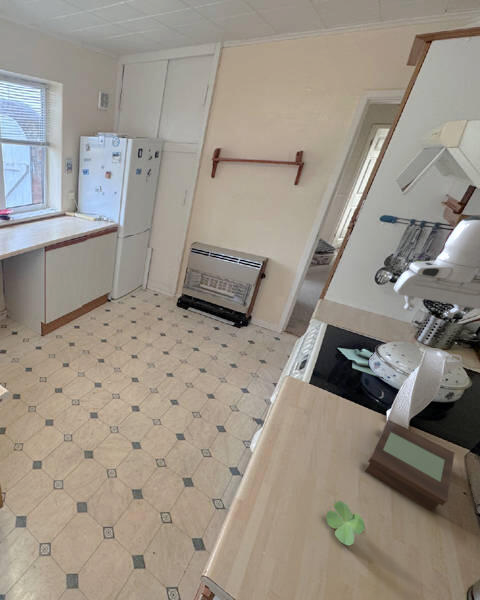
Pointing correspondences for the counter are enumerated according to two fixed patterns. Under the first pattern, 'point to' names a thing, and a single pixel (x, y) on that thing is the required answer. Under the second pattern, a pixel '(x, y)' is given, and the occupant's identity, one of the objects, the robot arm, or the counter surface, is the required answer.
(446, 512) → the counter surface
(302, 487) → the counter surface
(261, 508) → the counter surface
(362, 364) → the cloth
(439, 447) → the wooden jewelry box
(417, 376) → the white twisted piece
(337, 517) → the seedling
